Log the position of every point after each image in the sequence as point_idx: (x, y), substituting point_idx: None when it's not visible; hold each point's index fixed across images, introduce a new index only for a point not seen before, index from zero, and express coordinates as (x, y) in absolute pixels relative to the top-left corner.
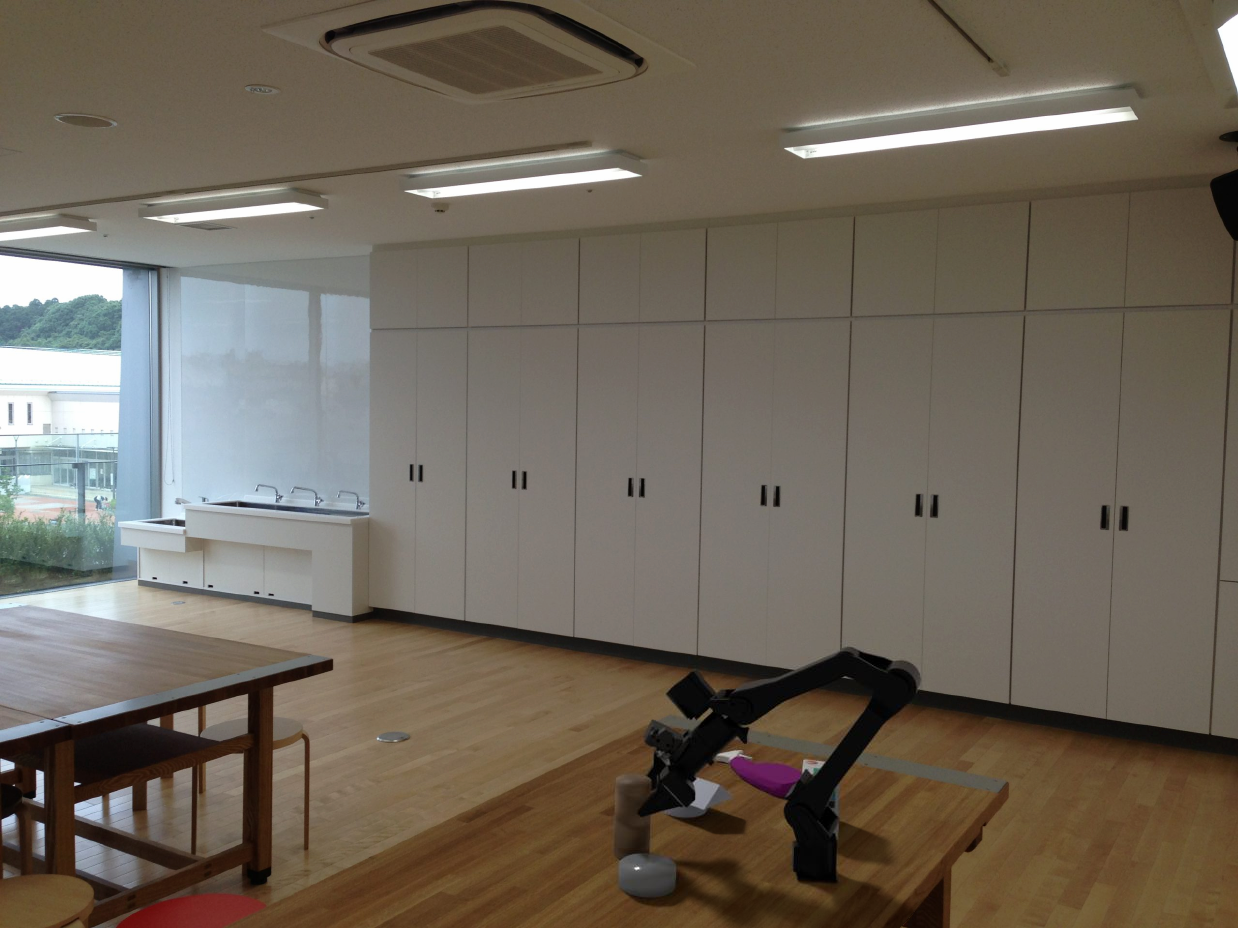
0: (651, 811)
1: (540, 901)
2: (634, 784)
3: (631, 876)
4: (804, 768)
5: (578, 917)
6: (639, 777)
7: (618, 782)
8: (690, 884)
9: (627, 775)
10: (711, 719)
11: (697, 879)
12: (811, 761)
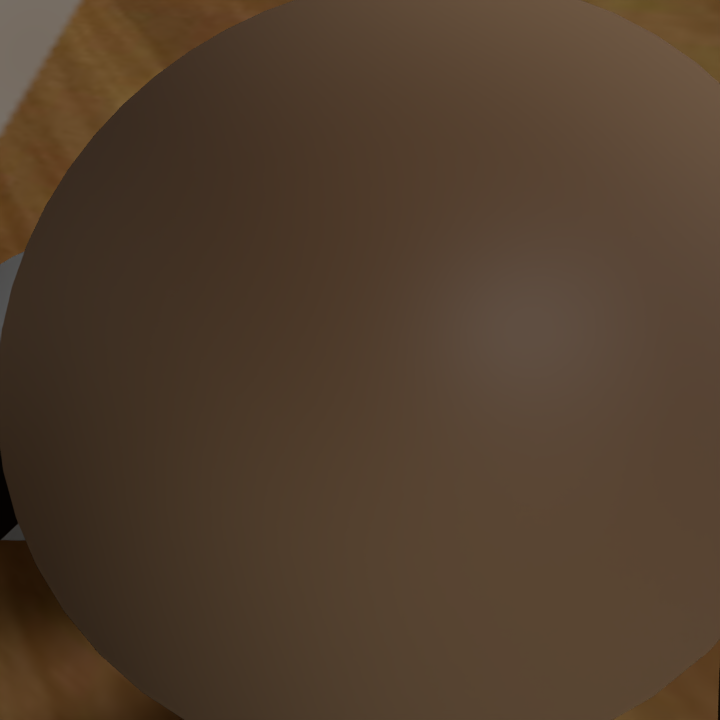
0: None
1: (173, 11)
2: (146, 234)
3: (2, 267)
4: None
5: (27, 97)
6: (491, 495)
7: (348, 4)
8: (8, 600)
9: (715, 255)
10: None
11: (29, 667)
12: None
